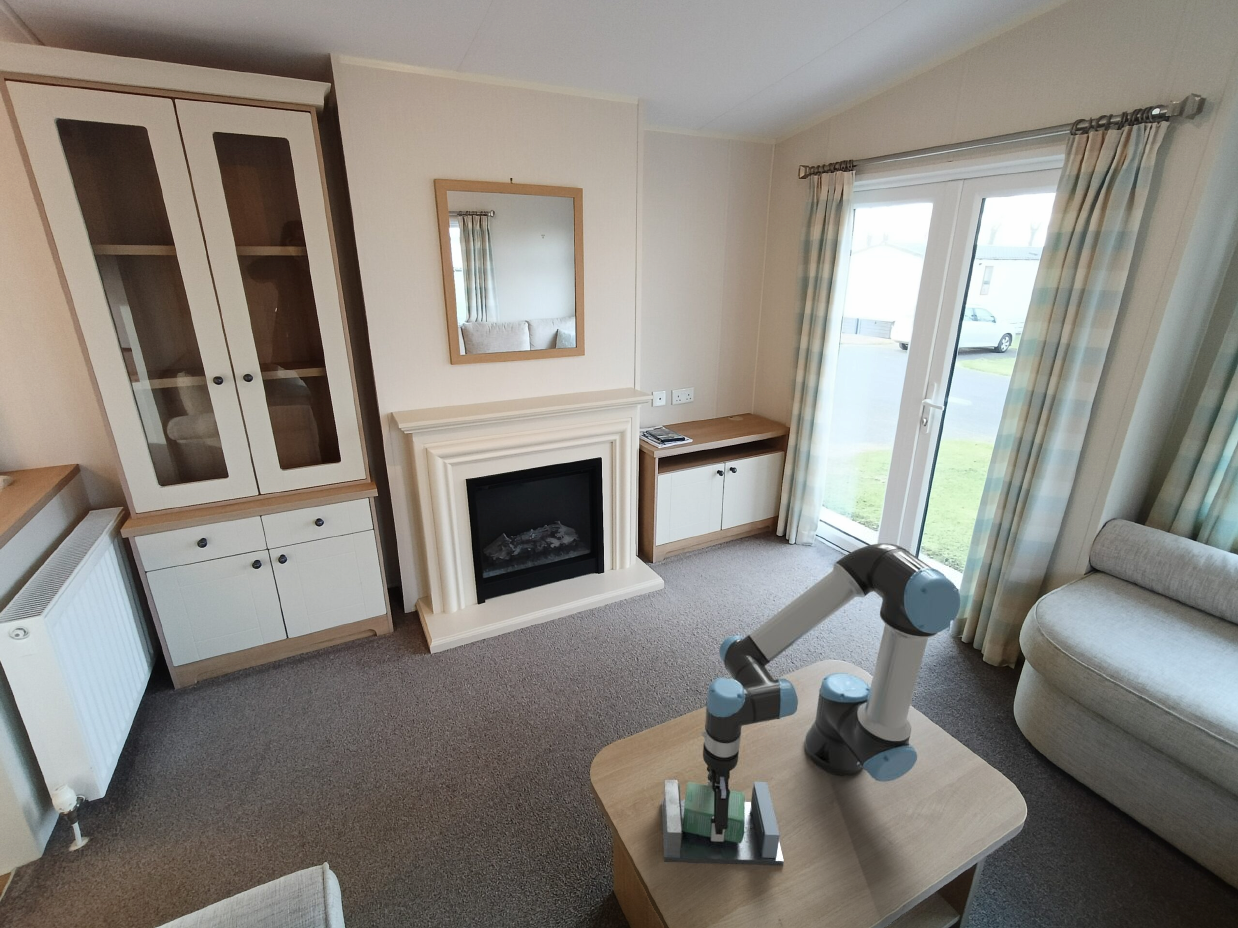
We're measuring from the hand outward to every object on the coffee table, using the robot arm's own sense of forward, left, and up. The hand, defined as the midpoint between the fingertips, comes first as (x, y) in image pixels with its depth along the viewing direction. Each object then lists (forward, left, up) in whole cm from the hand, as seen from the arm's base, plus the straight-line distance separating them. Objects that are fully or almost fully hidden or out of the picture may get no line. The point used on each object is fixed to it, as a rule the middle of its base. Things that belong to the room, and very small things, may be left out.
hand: (714, 820), depth 129 cm
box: (0, 0, -1) cm, 1 cm away
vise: (-1, 0, -4) cm, 4 cm away
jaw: (-11, 0, -2) cm, 11 cm away
